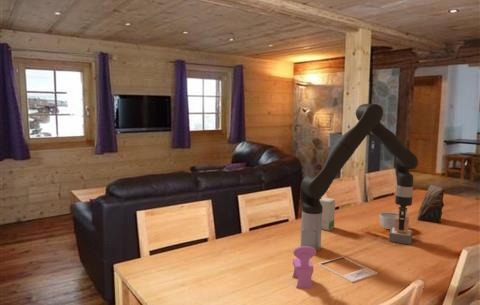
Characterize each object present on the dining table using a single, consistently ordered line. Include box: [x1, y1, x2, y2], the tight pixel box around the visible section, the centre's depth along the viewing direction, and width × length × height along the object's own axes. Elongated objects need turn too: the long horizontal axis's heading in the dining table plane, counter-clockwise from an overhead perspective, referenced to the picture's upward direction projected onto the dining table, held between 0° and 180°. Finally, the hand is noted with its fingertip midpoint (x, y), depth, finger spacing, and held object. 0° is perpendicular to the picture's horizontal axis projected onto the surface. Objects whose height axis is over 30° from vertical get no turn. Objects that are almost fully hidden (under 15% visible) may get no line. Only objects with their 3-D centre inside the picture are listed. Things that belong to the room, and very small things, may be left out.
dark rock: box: [417, 183, 445, 224], centre depth 212 cm, size 13×13×20 cm
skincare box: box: [319, 197, 336, 231], centre depth 196 cm, size 8×7×16 cm
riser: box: [388, 227, 414, 246], centre depth 181 cm, size 10×10×4 cm
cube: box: [394, 215, 410, 233], centre depth 180 cm, size 6×6×6 cm
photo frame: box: [317, 255, 378, 284], centre depth 148 cm, size 15×1×18 cm
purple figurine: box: [291, 246, 317, 289], centre depth 135 cm, size 8×9×15 cm
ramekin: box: [379, 211, 399, 229], centre depth 198 cm, size 13×13×7 cm
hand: (401, 227), depth 180 cm, fingers closed on cube, 6 cm apart
